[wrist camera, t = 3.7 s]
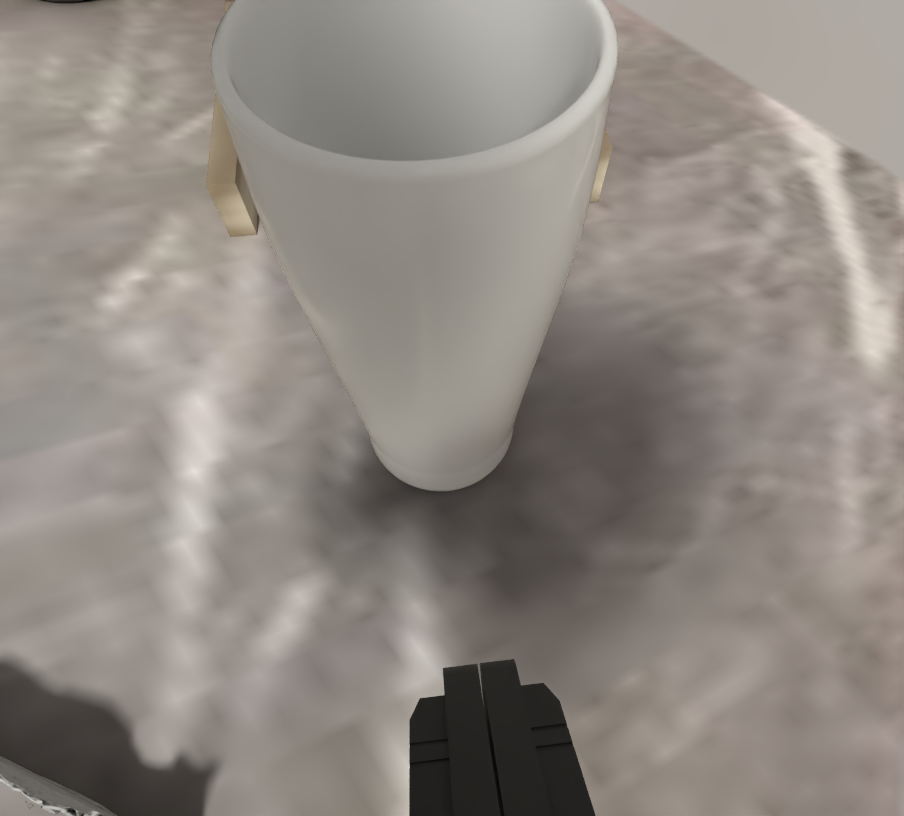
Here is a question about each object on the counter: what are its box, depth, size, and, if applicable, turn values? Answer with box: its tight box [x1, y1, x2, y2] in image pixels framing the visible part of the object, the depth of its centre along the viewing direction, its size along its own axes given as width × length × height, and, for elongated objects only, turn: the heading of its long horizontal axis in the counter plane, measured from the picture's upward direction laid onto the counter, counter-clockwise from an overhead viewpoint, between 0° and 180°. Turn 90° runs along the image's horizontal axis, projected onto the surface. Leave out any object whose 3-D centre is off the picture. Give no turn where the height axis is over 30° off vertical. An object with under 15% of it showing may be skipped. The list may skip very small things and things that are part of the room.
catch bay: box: [206, 0, 612, 237], centre depth 30 cm, size 17×15×3 cm
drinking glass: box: [211, 0, 618, 491], centre depth 16 cm, size 7×7×15 cm
